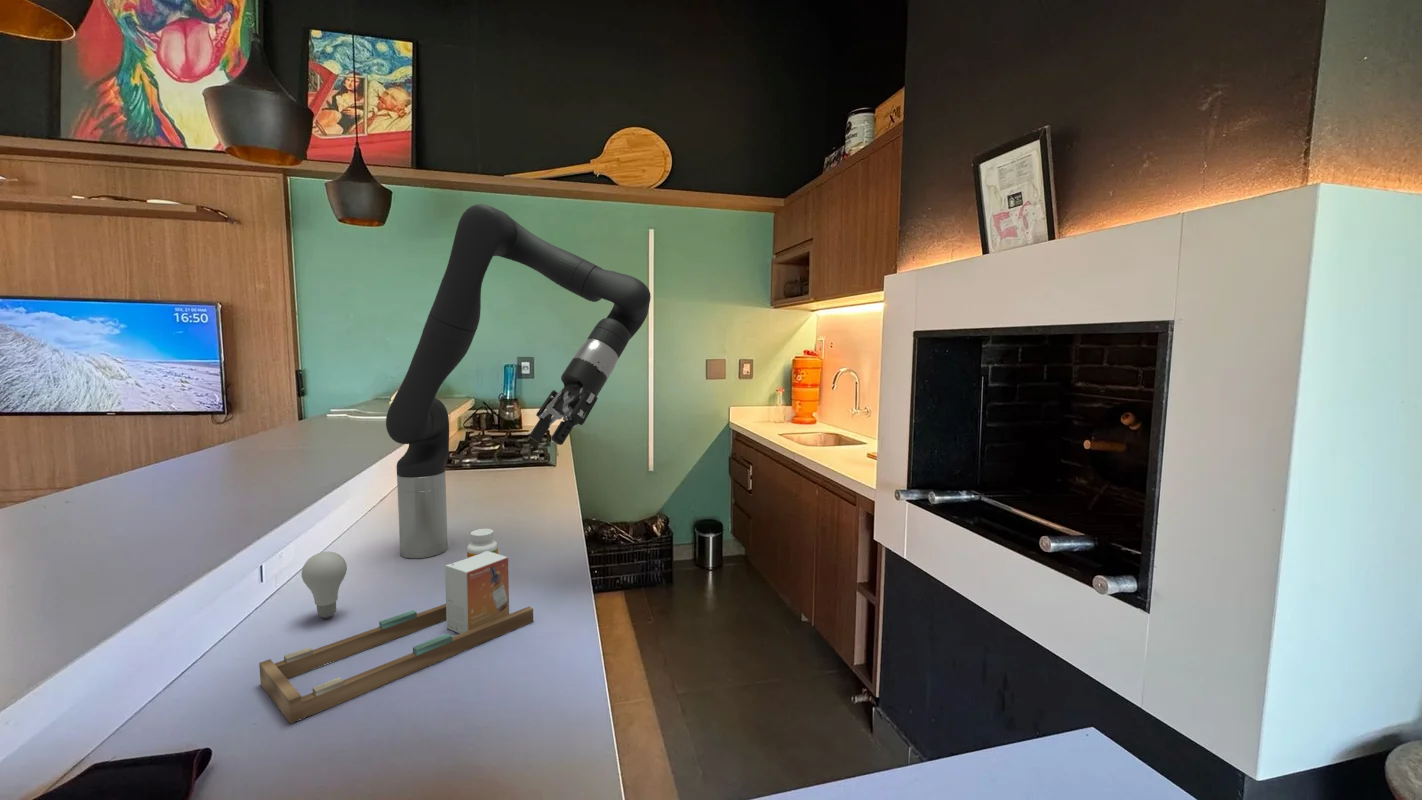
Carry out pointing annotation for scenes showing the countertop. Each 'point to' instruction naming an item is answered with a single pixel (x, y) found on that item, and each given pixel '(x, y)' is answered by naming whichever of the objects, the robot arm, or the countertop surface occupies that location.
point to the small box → (476, 591)
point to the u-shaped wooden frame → (343, 690)
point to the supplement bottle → (481, 542)
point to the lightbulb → (324, 580)
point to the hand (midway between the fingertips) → (544, 441)
